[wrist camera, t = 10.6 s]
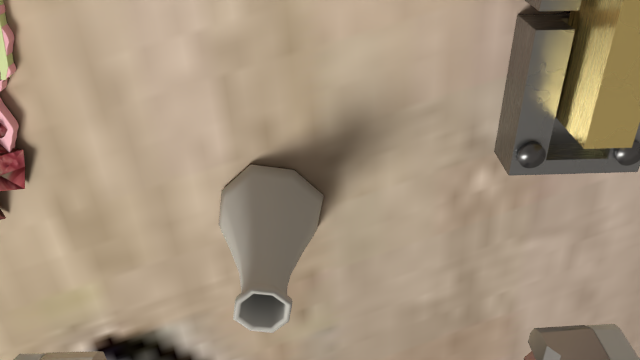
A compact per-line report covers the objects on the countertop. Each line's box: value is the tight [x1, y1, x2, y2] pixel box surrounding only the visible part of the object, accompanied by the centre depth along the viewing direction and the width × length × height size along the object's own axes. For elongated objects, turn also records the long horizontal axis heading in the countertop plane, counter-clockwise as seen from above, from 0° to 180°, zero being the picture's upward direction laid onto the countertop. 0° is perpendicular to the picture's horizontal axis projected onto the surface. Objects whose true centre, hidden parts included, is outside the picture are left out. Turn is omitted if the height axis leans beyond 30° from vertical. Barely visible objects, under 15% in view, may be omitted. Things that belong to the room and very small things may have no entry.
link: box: [494, 14, 640, 175], centre depth 33 cm, size 9×8×3 cm
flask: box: [219, 165, 324, 333], centre depth 35 cm, size 7×7×10 cm
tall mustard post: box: [556, 0, 640, 149], centre depth 29 cm, size 12×3×5 cm, turn 1°
